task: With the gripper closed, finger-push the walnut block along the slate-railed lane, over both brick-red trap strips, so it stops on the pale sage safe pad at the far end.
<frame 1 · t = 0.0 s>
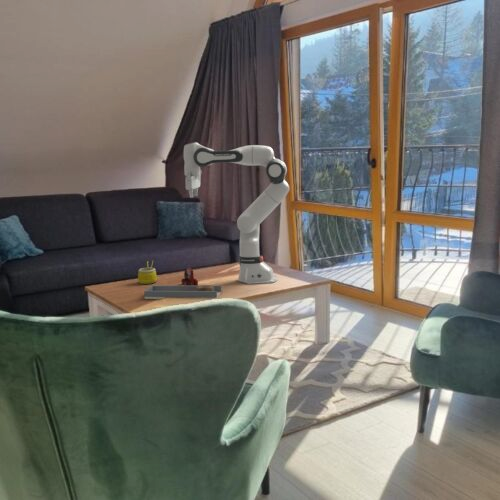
hand: (193, 196, 323), 48 cm above the table, tool pointing down, fingers open, 8 cm apart
red wheeled piece: (189, 286, 318), on the table
mug: (149, 282, 330), on the table
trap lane: (183, 295, 297), on the table
walnut block: (205, 294, 295), point 1 cm above the table, touching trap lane
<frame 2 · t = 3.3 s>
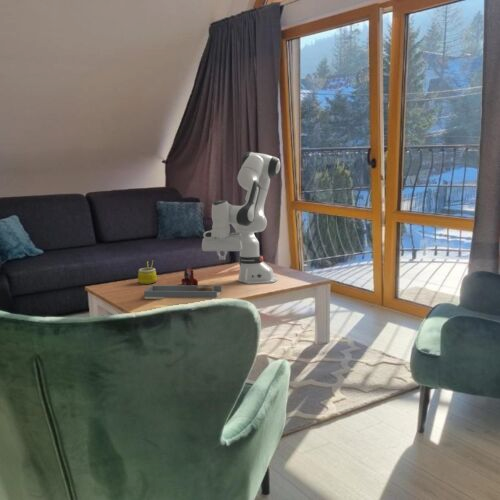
hand: (222, 259, 291), 19 cm above the table, tool pointing down, fingers closed
nothing on the table moved.
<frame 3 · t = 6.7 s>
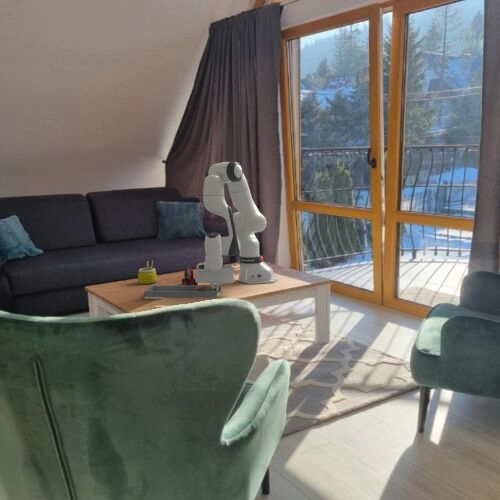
hand: (215, 291, 294), 3 cm above the table, tool pointing down, fingers closed
walnut block: (204, 294, 296), point 1 cm above the table, touching gripper, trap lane
everything else where it was.
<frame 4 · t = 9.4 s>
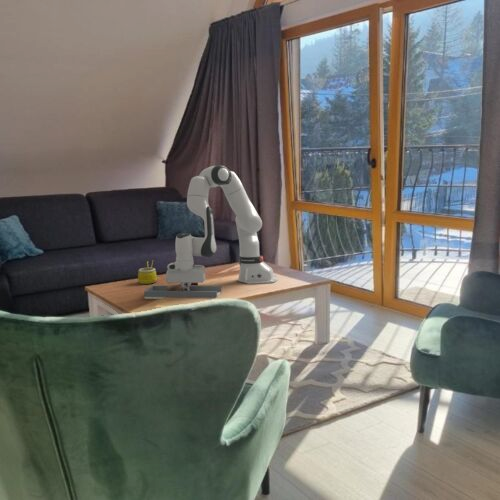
hand: (186, 290, 296), 3 cm above the table, tool pointing down, fingers closed
walnut block: (175, 294, 298), point 1 cm above the table, touching gripper
everything else where it was.
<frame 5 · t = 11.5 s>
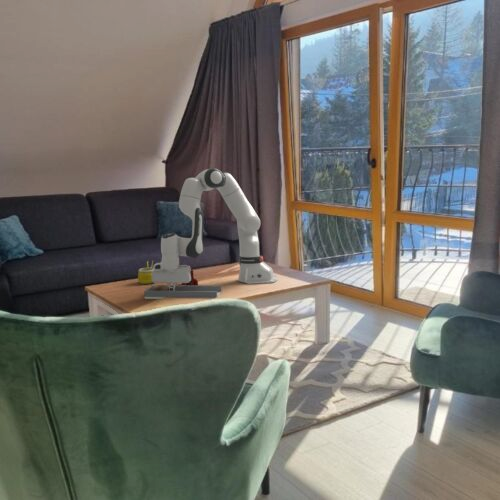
hand: (172, 290, 298), 3 cm above the table, tool pointing down, fingers closed
walnut block: (161, 293, 299), point 1 cm above the table, touching gripper, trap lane
everything else where it was.
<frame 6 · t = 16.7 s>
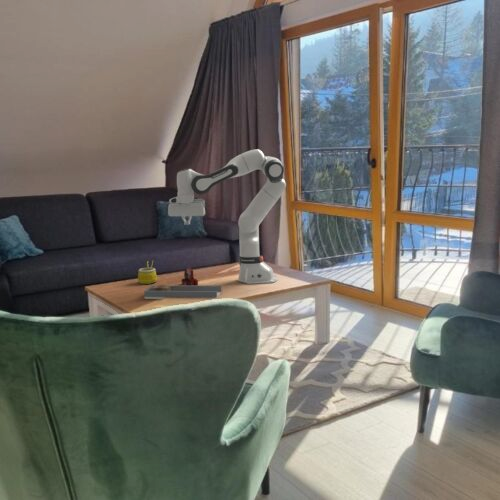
hand: (187, 224, 314), 34 cm above the table, tool pointing down, fingers closed
walnut block: (161, 293, 299), point 1 cm above the table, touching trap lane
everything else where it was.
at the end: walnut block inside the target area (0.9 cm from its centre), point 1.0 cm above the table; walnut block tilted 0° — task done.
